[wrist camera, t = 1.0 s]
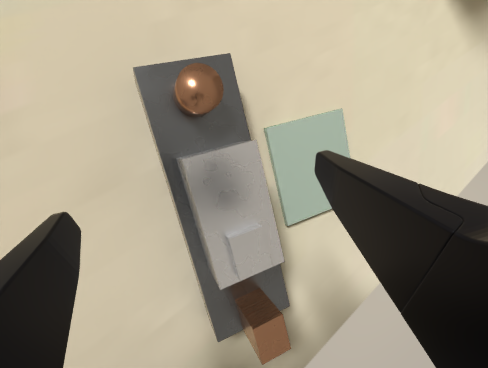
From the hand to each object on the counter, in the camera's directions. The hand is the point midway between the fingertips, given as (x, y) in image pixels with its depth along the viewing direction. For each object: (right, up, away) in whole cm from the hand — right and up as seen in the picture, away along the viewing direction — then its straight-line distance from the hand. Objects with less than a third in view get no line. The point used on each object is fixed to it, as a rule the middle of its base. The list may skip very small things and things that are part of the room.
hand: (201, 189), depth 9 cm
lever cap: (0, -2, +11) cm, 11 cm away
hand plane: (-1, -1, +14) cm, 14 cm away
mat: (+9, +2, +18) cm, 20 cm away
